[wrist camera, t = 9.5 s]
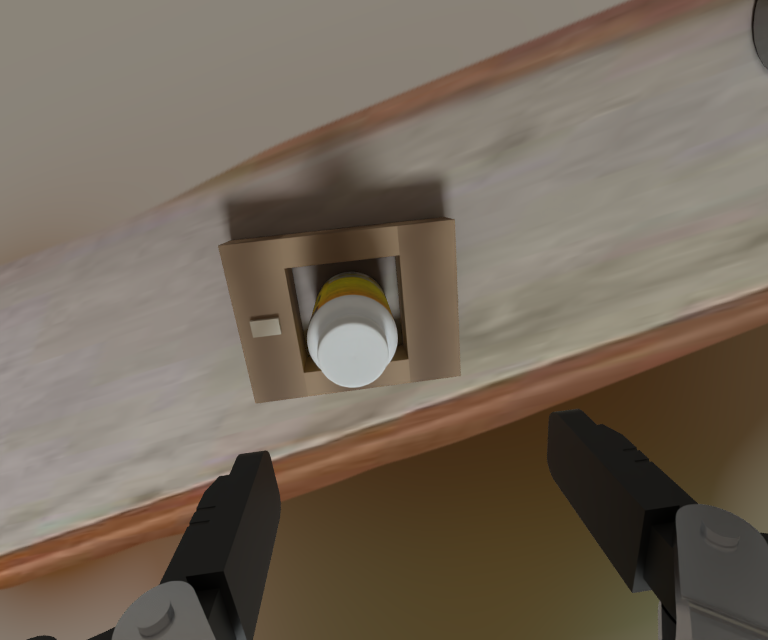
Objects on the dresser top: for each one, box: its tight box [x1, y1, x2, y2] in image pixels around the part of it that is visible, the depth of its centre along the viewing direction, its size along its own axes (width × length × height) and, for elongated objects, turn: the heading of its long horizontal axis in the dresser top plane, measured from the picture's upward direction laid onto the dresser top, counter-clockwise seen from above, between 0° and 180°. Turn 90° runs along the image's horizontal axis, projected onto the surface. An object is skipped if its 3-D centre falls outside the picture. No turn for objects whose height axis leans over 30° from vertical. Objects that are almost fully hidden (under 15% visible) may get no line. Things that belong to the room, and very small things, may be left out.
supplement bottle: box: [307, 272, 398, 388], centre depth 26 cm, size 6×6×10 cm
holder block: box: [218, 217, 461, 403], centre depth 29 cm, size 16×12×3 cm
